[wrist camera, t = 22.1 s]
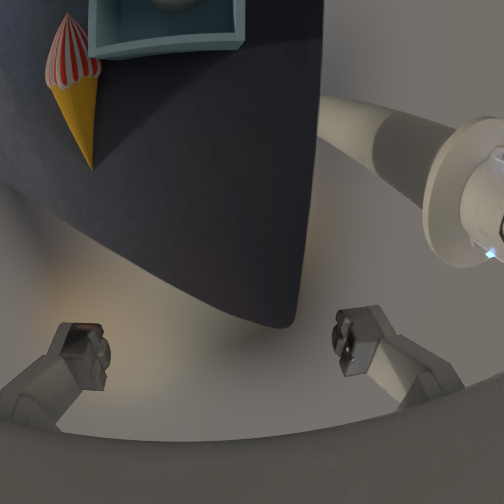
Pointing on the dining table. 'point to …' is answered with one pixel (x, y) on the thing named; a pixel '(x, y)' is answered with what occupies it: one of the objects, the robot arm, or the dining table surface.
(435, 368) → the robot arm
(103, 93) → the dining table surface
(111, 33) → the bin
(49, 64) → the ice cream cone
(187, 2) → the paper cup
